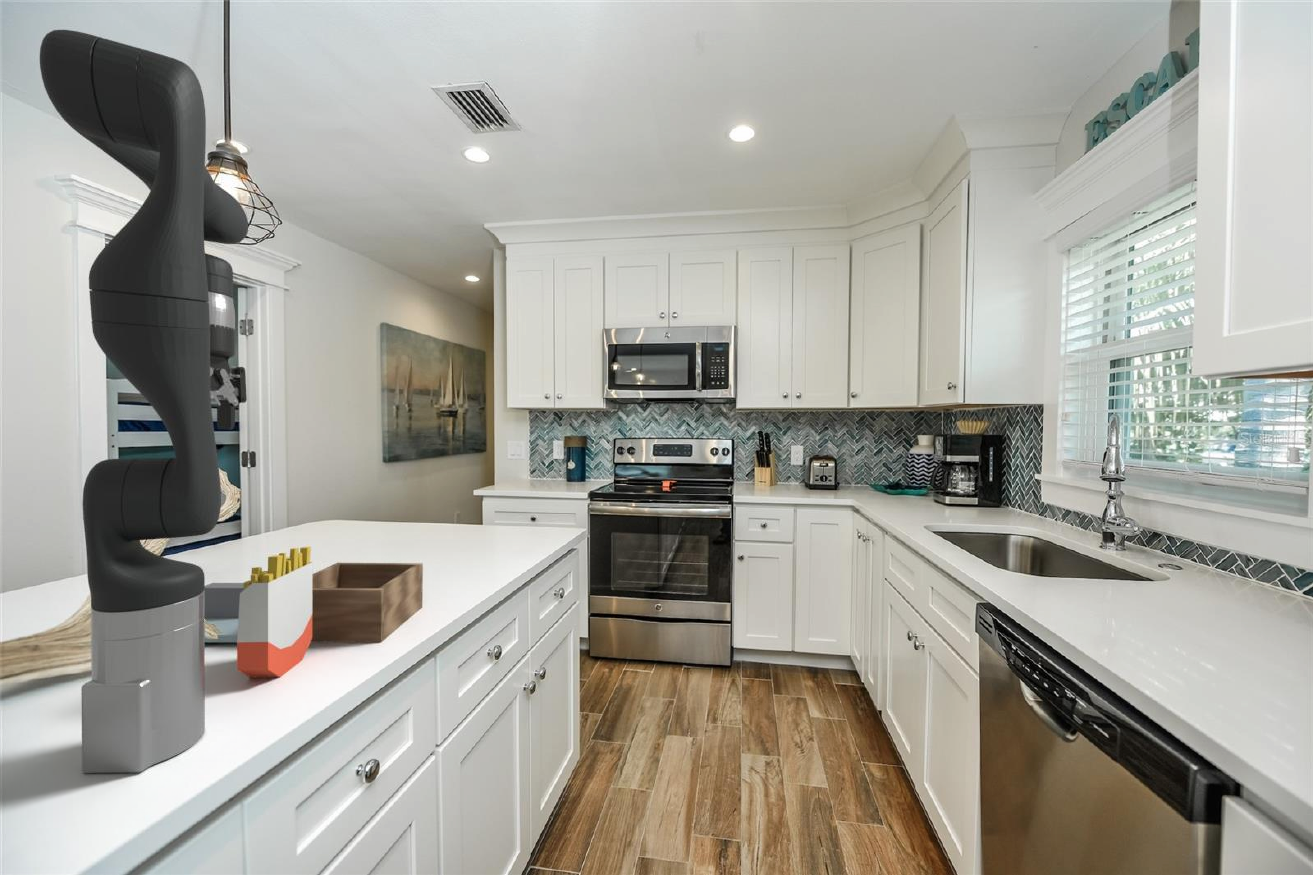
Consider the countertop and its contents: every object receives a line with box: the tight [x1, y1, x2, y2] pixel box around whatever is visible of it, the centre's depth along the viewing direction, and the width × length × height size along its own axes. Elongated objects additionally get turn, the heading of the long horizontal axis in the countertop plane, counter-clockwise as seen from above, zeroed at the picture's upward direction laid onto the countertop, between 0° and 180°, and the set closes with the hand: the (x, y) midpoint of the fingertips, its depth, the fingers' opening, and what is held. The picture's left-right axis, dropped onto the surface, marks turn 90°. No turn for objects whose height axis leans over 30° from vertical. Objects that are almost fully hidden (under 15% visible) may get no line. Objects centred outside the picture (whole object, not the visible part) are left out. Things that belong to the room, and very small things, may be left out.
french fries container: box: [236, 546, 313, 679], centre depth 78 cm, size 5×11×18 cm, turn 5°
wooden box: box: [310, 562, 424, 643], centre depth 96 cm, size 17×17×9 cm
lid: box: [204, 582, 244, 643], centre depth 94 cm, size 18×18×8 cm
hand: (203, 429), depth 80 cm, fingers open, 8 cm apart
